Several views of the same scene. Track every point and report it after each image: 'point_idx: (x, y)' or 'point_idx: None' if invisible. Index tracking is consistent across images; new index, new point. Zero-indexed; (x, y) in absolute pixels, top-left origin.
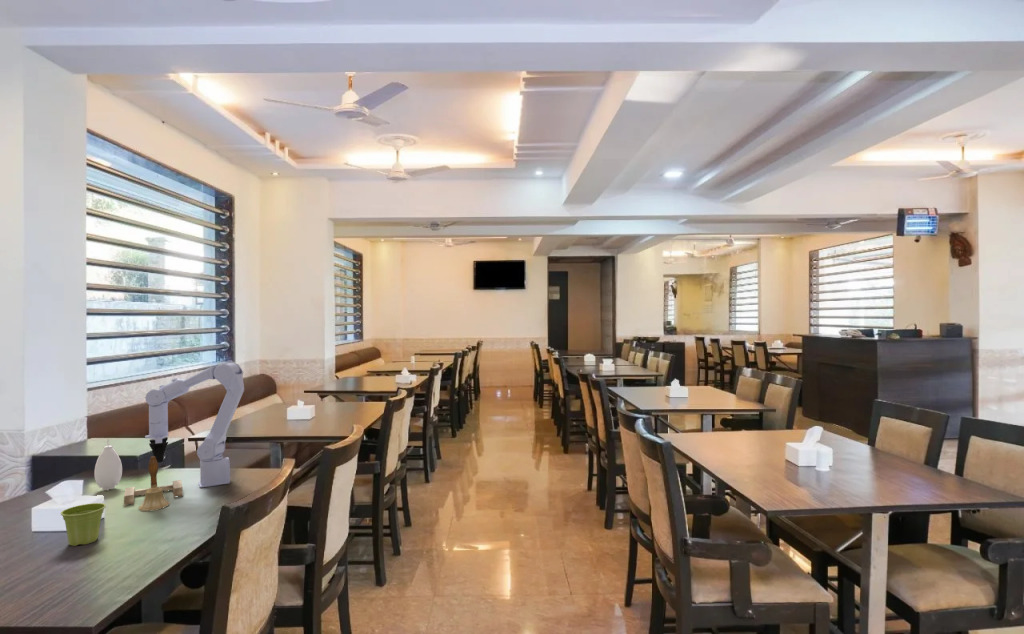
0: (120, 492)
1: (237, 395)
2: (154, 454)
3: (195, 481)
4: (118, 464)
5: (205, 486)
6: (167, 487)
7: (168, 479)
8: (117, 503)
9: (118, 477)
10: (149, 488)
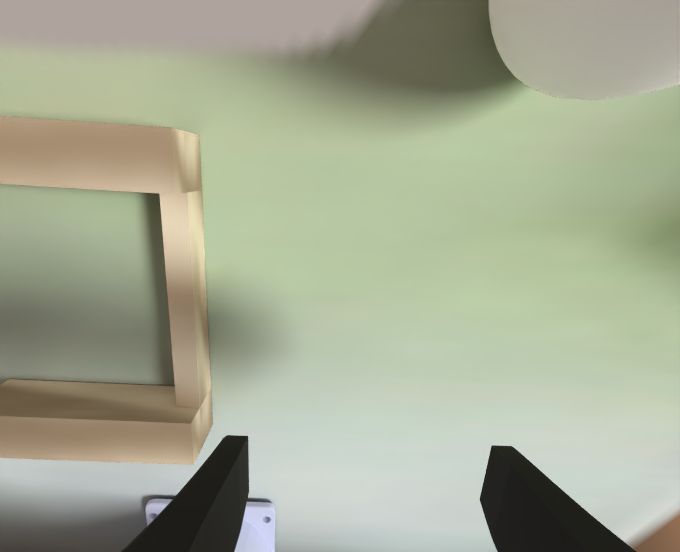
0: (375, 105)
1: None
2: (149, 535)
3: (337, 491)
4: (631, 13)
5: (148, 521)
6: (177, 375)
7: (514, 385)
8: (41, 77)
9: (521, 68)
10: (180, 283)
